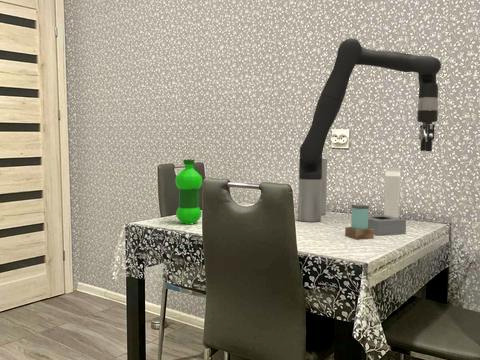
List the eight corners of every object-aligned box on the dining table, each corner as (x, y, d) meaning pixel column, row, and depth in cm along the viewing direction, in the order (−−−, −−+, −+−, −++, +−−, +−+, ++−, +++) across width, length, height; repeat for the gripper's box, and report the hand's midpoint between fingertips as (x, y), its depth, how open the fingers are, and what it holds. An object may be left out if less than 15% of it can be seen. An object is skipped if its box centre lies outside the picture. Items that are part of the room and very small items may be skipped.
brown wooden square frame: (356, 239, 158) (356, 230, 158) (345, 235, 165) (345, 227, 164) (373, 238, 161) (373, 229, 161) (361, 234, 167) (361, 226, 167)
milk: (384, 218, 203) (385, 167, 202) (398, 219, 202) (400, 167, 200) (383, 220, 198) (385, 168, 196) (399, 221, 196) (400, 168, 194)
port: (378, 235, 165) (378, 221, 165) (357, 229, 177) (358, 216, 176) (405, 233, 170) (406, 219, 169) (384, 227, 181) (384, 214, 181)
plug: (357, 238, 160) (358, 206, 159) (350, 236, 164) (351, 204, 163) (367, 237, 162) (368, 205, 161) (360, 235, 165) (361, 204, 165)
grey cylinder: (297, 211, 223) (298, 158, 221) (324, 211, 222) (326, 158, 220) (298, 215, 211) (299, 158, 209) (326, 215, 210) (328, 159, 208)
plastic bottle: (179, 225, 180) (179, 160, 178) (173, 221, 190) (173, 159, 188) (204, 224, 184) (204, 160, 182) (197, 220, 194) (198, 159, 192)
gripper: (413, 111, 194) (412, 150, 196) (421, 108, 180) (420, 151, 182) (433, 111, 193) (431, 151, 194) (442, 108, 179) (440, 151, 180)
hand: (425, 151), depth 188 cm, fingers open, 8 cm apart
